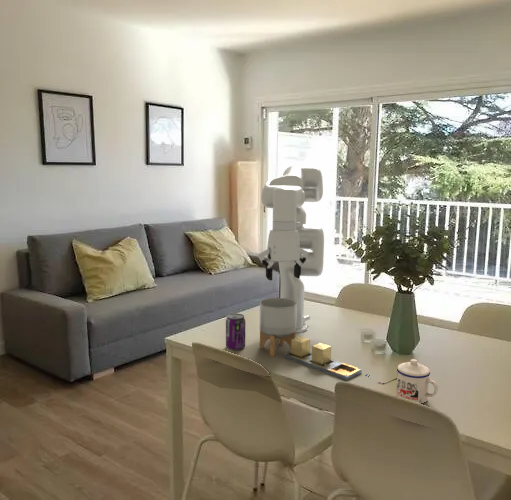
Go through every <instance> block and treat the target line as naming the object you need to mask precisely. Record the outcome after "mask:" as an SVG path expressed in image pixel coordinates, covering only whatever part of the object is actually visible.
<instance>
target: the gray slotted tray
mask: <svg viewBox="0 0 511 500" xmlns="http://www.w3.org/2000/svg"><path fill="white" fill-rule="evenodd" d="M283 358H284V359H287V360H290V361H293V362H295V363H298V364H301V365H304V366H307V367H308V368H312V369H315V370H317V371H320V372H322V373H325V374H328V375H331V376H333V377H336V378H338V379H342V380H344V381H349V380H351V379H353V378H355V377H357V376H359V375H360V374H362V369H361V368H359V367H356V366H354V365H351V364H348V363H345V362H341V361H338V360H334V359H332V358H331V363H330V364H328V365H325V366H320V365H317V364H315V363H312V351H310V356H307V357H305V358H302V359H301V358H298V357H295V356H292V355H291V350H290V351H288V352H286V353H284V354H283Z"/></svg>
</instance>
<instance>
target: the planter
mask: <svg viewBox="0 0 511 500" xmlns="http://www.w3.org/2000/svg"><path fill="white" fill-rule="evenodd" d="M296 312H297V303H296V301H294V300H291V299H287V298H280V297H268V298H264V299H262V300H260V301H259V348H260V349H264V348H265V345H266V343H267V341H268V340H269V356H270V357H275V356H276V349H277V345H278V341H279V345H280V346H284V345H285V343H287V345H288V346H289V349H290V350H291V340H292V339H294V338H297V333H296Z"/></svg>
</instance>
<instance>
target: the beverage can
mask: <svg viewBox="0 0 511 500" xmlns="http://www.w3.org/2000/svg"><path fill="white" fill-rule="evenodd" d="M225 347H226V348H227V349H229V350H231V351H240V350H242V349H244V348H246V318H245V314H243V313H230V314H227V315H226V319H225Z"/></svg>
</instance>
